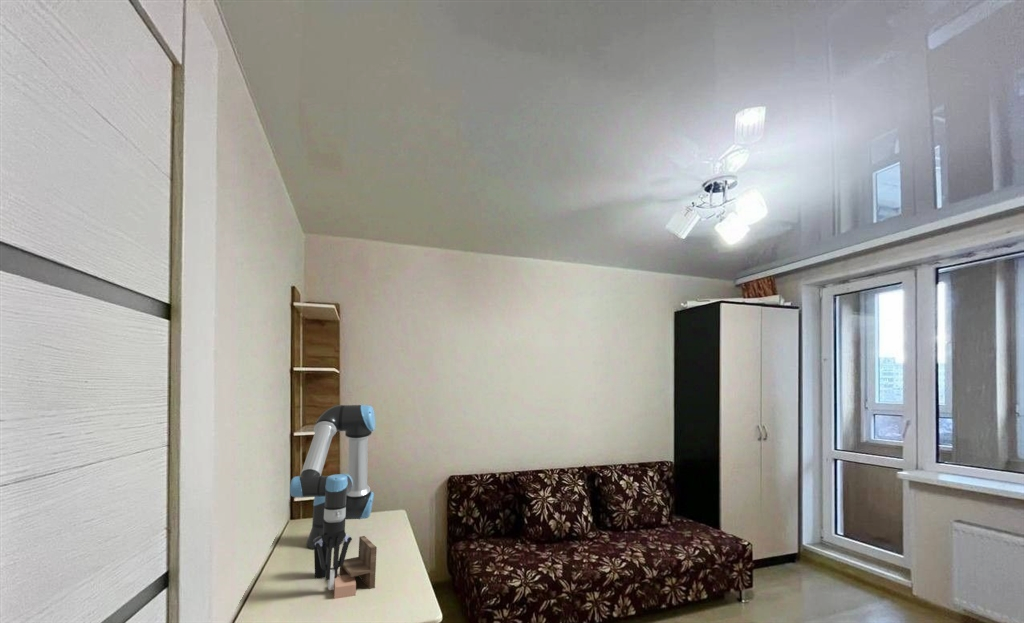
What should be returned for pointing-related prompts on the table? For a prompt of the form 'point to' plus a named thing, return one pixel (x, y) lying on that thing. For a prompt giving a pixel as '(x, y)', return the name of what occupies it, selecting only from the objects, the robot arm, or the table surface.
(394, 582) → the table surface
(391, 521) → the table surface
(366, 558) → the desk shelf
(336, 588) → the pink rectangular block
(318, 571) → the drinking cup
